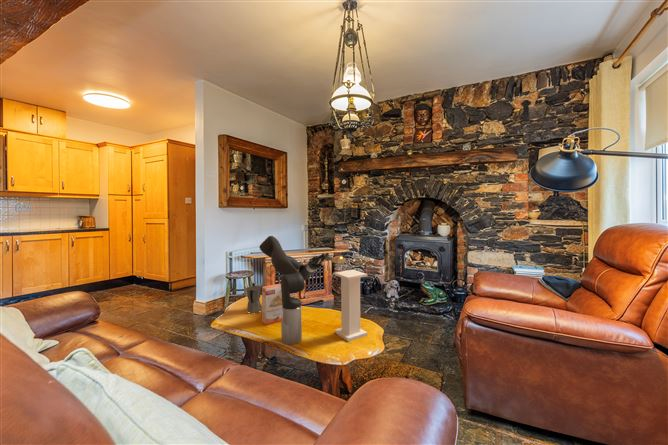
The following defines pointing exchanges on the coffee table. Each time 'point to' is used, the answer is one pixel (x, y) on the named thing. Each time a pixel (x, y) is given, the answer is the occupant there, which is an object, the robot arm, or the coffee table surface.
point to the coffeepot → (253, 298)
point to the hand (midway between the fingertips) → (326, 254)
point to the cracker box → (272, 304)
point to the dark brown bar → (336, 259)
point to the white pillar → (350, 305)
